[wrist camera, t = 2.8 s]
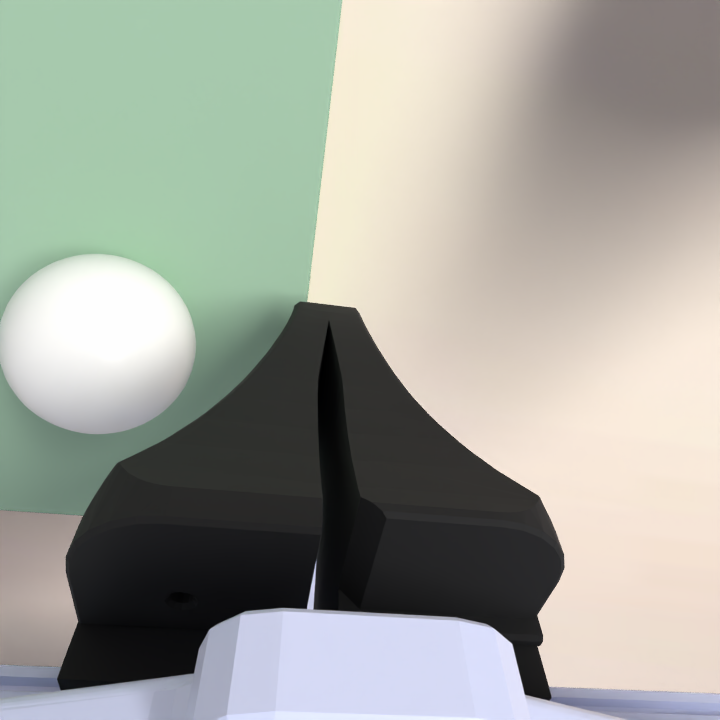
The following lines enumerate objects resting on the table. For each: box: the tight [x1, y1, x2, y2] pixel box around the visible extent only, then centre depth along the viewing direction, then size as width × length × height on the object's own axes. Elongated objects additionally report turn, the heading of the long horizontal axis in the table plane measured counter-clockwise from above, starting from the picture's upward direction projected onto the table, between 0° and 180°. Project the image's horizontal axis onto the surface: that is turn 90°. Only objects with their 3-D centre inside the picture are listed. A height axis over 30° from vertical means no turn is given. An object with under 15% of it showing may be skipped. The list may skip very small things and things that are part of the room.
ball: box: [0, 254, 196, 434], centre depth 11 cm, size 4×4×4 cm
